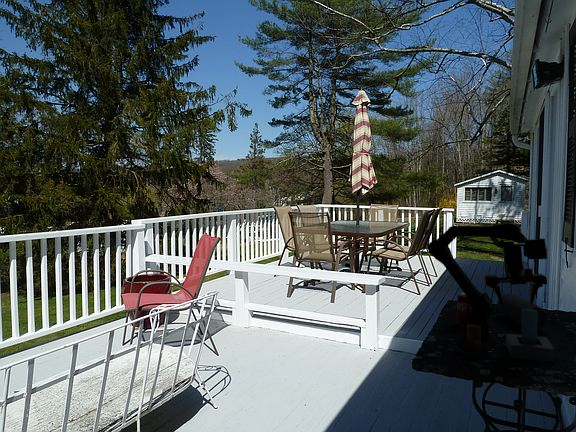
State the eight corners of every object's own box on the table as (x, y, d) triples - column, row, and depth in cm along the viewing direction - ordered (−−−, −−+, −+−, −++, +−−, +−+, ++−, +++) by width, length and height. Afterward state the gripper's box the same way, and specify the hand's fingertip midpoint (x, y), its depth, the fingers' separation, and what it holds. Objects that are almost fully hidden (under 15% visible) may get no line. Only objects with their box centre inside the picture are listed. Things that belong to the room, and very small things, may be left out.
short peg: (466, 351, 146) (467, 327, 145) (466, 347, 150) (466, 323, 149) (481, 353, 144) (481, 328, 144) (480, 348, 148) (480, 325, 148)
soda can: (460, 321, 180) (460, 291, 179) (479, 324, 175) (479, 294, 174) (454, 325, 174) (454, 295, 173) (473, 329, 169) (473, 297, 169)
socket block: (510, 357, 140) (510, 345, 140) (505, 345, 151) (506, 333, 151) (554, 362, 136) (554, 349, 136) (546, 349, 147) (546, 337, 147)
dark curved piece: (548, 332, 165) (549, 305, 164) (523, 332, 165) (523, 305, 165) (518, 315, 188) (518, 291, 187) (495, 315, 188) (496, 292, 187)
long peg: (528, 356, 141) (529, 312, 140) (517, 351, 145) (518, 309, 145) (539, 354, 142) (540, 311, 142) (528, 350, 147) (529, 307, 146)
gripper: (486, 263, 148) (490, 310, 148) (549, 261, 143) (553, 310, 143) (482, 259, 159) (485, 303, 159) (541, 257, 153) (544, 302, 153)
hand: (516, 304), depth 153 cm, fingers open, 9 cm apart
